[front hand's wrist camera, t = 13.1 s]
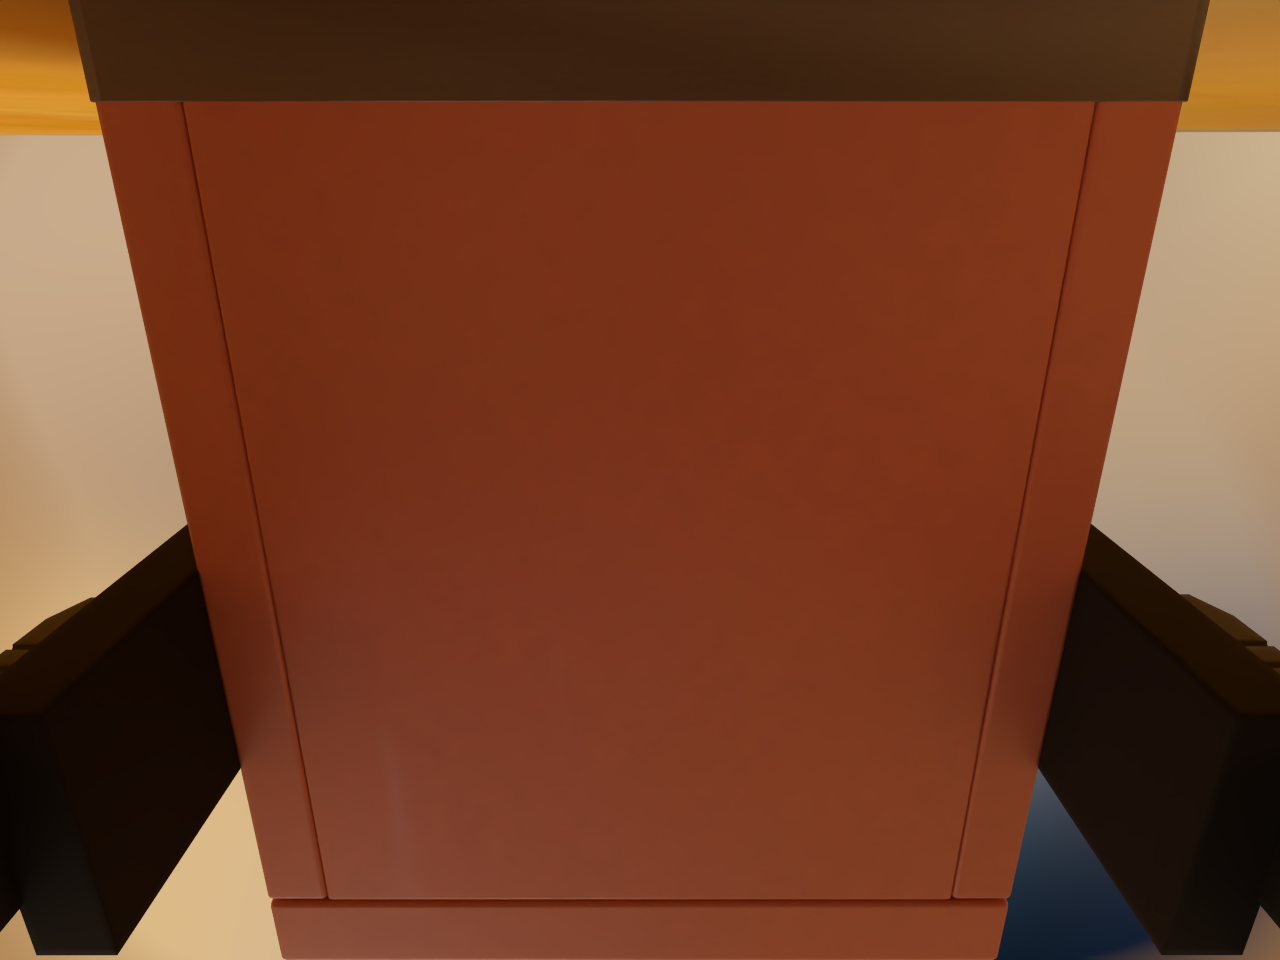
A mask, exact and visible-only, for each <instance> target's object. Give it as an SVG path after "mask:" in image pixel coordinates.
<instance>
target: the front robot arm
mask: <svg viewBox="0 0 1280 960" xmlns="http://www.w3.org/2000/svg"><path fill="white" fill-rule="evenodd" d="M240 768H241V766H240V761H239V757H238V752H237V747H236V743H235V738H234V734H233V729H232V724H231V720H230V715H229V711H228V706H227V701H226V697H225V692H224V688H223V683H222V678H221V674H220V669H219V665H218V660H217V656H216V651H215V646H214V642H213V637H212V633H211V628H210V623H209V619H208V614H207V610H206V605H205V600H204V596H203V591H202V587H201V582H200V577H199V573H198V569H197V565H196V560H195V556H194V551H193V546H192V542H191V537H190V533H189V528H188V524H187V525H186V526H185V527H183V528H182V529H181V530H180V531H178V532H177V533H176V534H175V535H173V536H172V537H171V538H170V539H168V540H167V541H166V542H165V543H163V544H162V545H161V546H160V547H158V548H157V549H156V550H155V551H153V552H152V553H151V554H150V555H148V556H147V557H146V558H145V559H143V560H142V561H141V562H139V563H138V564H137V565H136V566H134V567H133V568H132V569H131V570H129V571H128V572H127V573H126V574H124V575H123V576H122V577H121V578H119V579H118V580H117V581H116V582H114V583H113V584H112V585H111V586H109V587H108V588H107V589H106V590H104V591H103V592H102V593H101V594H99V595H98V596H97V597H96V598H89V599H87V600H85V601H83V602H81V603H78V604H76V605H74V606H72V607H70V608H68V609H66V610H64V611H62V612H60V613H58V614H56V615H54V616H51V617H49V618H47V619H46V620H44V621H43V622H42V623H40V624H39V625H38V626H36V627H35V628H34V629H32V630H31V631H30V632H29V633H27V634H26V635H25V636H23V637H22V638H21V639H19V640H18V641H17V642H15V643H14V644H13V648H12V650H5V651H4V652H2V653H1V654H0V932H1V930H2V929H3V928H4V927H5V926H6V924H7V923H8V922H9V921H10V920H11V918H12V917H13V916H14V915H15V914H16V912H17V911H18V910H19V909H20V911H21V913H22V916H23V919H24V922H25V925H26V927H27V930H28V933H29V935H30V938H31V941H32V944H33V946H34V949H35V952H36V955H118V953H119V952H120V950H121V949H122V947H123V946H124V944H125V943H126V941H127V940H128V938H129V937H130V935H131V934H132V932H133V931H134V929H135V927H136V926H137V924H138V923H139V921H140V920H141V918H142V917H143V915H144V914H145V912H146V911H147V909H148V908H149V906H150V905H151V903H152V902H153V900H154V899H155V897H156V896H157V894H158V893H159V891H160V890H161V888H162V887H163V885H164V883H165V882H166V880H167V879H168V877H169V876H170V874H171V873H172V871H173V870H174V868H175V867H176V865H177V864H178V862H179V861H180V859H181V858H182V856H183V855H184V853H185V852H186V850H187V849H188V847H189V846H190V844H191V843H192V841H193V840H194V838H195V837H196V835H197V834H198V832H199V830H200V829H201V827H202V826H203V824H204V823H205V821H206V820H207V818H208V817H209V815H210V814H211V812H212V811H213V809H214V808H215V806H216V805H217V803H218V802H219V800H220V799H221V797H222V795H223V794H224V793H225V791H226V790H227V788H228V787H229V785H230V783H231V782H232V780H233V779H234V777H235V776H236V774H237V773H238V771H239V770H240ZM1038 768H1039V770H1040V771H1041V773H1042V774H1043V776H1044V777H1045V779H1046V780H1047V782H1048V783H1049V785H1050V786H1051V788H1052V789H1053V791H1054V792H1055V794H1056V796H1057V797H1058V799H1059V800H1060V802H1061V803H1062V805H1063V806H1064V808H1065V809H1066V811H1067V812H1068V814H1069V815H1070V817H1071V818H1072V820H1073V821H1074V823H1075V824H1076V826H1077V827H1078V829H1079V830H1080V832H1081V833H1082V835H1083V836H1084V838H1085V839H1086V841H1087V843H1088V844H1089V846H1090V847H1091V849H1092V850H1093V852H1094V853H1095V855H1096V856H1097V858H1098V859H1099V861H1100V862H1101V864H1102V865H1103V867H1104V868H1105V870H1106V871H1107V873H1108V874H1109V876H1110V877H1111V879H1112V880H1113V882H1114V883H1115V885H1116V887H1117V888H1118V890H1119V891H1120V893H1121V894H1122V896H1123V897H1124V899H1125V900H1126V902H1127V903H1128V905H1129V906H1130V908H1131V909H1132V911H1133V912H1134V914H1135V915H1136V917H1137V918H1138V920H1139V921H1140V923H1141V924H1142V926H1143V927H1144V929H1145V930H1146V932H1147V934H1148V935H1149V937H1150V938H1151V940H1152V941H1153V943H1154V944H1155V946H1156V947H1157V949H1158V950H1159V952H1160V953H1161V955H1242V954H1243V951H1244V949H1245V946H1246V943H1247V940H1248V938H1249V935H1250V932H1251V929H1252V927H1253V924H1254V921H1255V918H1256V916H1257V913H1258V910H1259V907H1260V905H1261V906H1262V908H1263V909H1264V910H1265V911H1266V912H1267V914H1268V915H1269V916H1270V917H1271V918H1272V920H1273V921H1274V922H1275V923H1276V924H1277V926H1278V927H1279V928H1280V651H1279V650H1278V649H1277V648H1275V647H1274V646H1267V641H1266V640H1265V639H1263V638H1262V637H1261V636H1259V635H1258V634H1257V633H1255V632H1254V631H1253V630H1252V629H1250V628H1249V627H1248V626H1246V625H1245V624H1244V623H1242V622H1241V621H1240V620H1238V619H1237V618H1236V617H1234V616H1233V615H1231V614H1229V613H1227V612H1224V611H1222V610H1220V609H1218V608H1216V607H1214V606H1212V605H1210V604H1208V603H1206V602H1203V601H1201V600H1199V599H1197V598H1195V597H1193V596H1191V595H1188V594H1186V595H1184V594H1178V593H1177V592H1176V591H1175V590H1173V589H1172V588H1171V587H1170V586H1168V585H1167V584H1166V583H1165V582H1163V581H1162V580H1161V579H1160V578H1158V577H1157V576H1156V575H1155V574H1153V573H1152V572H1151V571H1150V570H1148V569H1147V568H1146V567H1144V566H1143V565H1142V564H1141V563H1140V562H1138V561H1137V560H1136V559H1135V558H1133V557H1132V556H1131V555H1129V554H1128V553H1127V552H1126V551H1124V550H1123V549H1122V548H1121V547H1119V546H1118V545H1117V544H1116V543H1114V542H1113V541H1112V540H1111V539H1109V538H1108V537H1107V536H1106V535H1104V534H1103V533H1102V532H1101V531H1099V530H1098V529H1097V528H1096V527H1094V526H1093V525H1092V524H1091V525H1090V530H1089V534H1088V539H1087V544H1086V548H1085V553H1084V558H1083V562H1082V567H1081V571H1080V576H1079V581H1078V585H1077V590H1076V594H1075V599H1074V604H1073V608H1072V613H1071V618H1070V622H1069V627H1068V631H1067V636H1066V641H1065V645H1064V650H1063V654H1062V659H1061V664H1060V668H1059V673H1058V677H1057V682H1056V687H1055V691H1054V696H1053V701H1052V705H1051V710H1050V714H1049V719H1048V724H1047V728H1046V733H1045V737H1044V742H1043V747H1042V751H1041V756H1040V760H1039V765H1038Z"/></svg>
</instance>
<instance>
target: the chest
mask: <svg viewBox="0 0 1280 960" xmlns="http://www.w3.org/2000/svg"><path fill="white" fill-rule="evenodd" d="M68 1H69V6H70V11H71V15H72V20H73V24H74V29H75V33H76V38H77V42H78V47H79V51H80V56H81V61H82V65H83V70H84V74H85V79H86V83H87V88H88V92H89V97H90V101H91V102H96V106H97V111H98V115H99V120H100V124H101V129H102V134H103V138H104V143H105V147H106V152H107V157H108V161H109V166H110V170H111V175H112V179H113V184H114V188H115V193H116V198H117V202H118V207H119V212H120V216H121V221H122V225H123V230H124V235H125V239H126V244H127V248H128V253H129V257H130V262H131V266H132V271H133V276H134V280H135V285H136V290H137V294H138V299H139V303H140V308H141V312H142V317H143V322H144V326H145V331H146V335H147V340H148V344H149V349H150V354H151V358H152V363H153V368H154V372H155V377H156V381H157V386H158V390H159V395H160V400H161V404H162V409H163V413H164V418H165V423H166V427H167V432H168V436H169V441H170V446H171V450H172V455H173V459H174V464H175V468H176V473H177V478H178V482H179V487H180V491H181V496H182V501H183V505H184V510H185V514H186V519H187V523H188V528H189V533H190V537H191V542H192V546H193V551H194V556H195V560H196V565H197V569H198V573H199V577H200V582H201V587H202V591H203V596H204V600H205V605H206V610H207V614H208V619H209V623H210V628H211V633H212V637H213V642H214V646H215V651H216V656H217V660H218V665H219V669H220V674H221V678H222V683H223V688H224V692H225V697H226V701H227V706H228V711H229V715H230V720H231V724H232V729H233V734H234V738H235V743H236V747H237V752H238V757H239V761H240V766H241V771H242V776H243V780H244V785H245V790H246V794H247V799H248V803H249V808H250V812H251V817H252V822H253V826H254V831H255V835H256V840H257V844H258V849H259V854H260V858H261V862H262V868H263V872H264V877H265V881H266V886H267V890H268V895H269V897H271V898H273V899H322V898H325V897H326V896H327V895H328V897H329V898H330V899H949V898H950V897H951V894H952V896H953V897H955V898H1007V897H1009V896H1010V894H1011V890H1012V885H1013V880H1014V876H1015V871H1016V867H1017V862H1018V857H1019V853H1020V848H1021V844H1022V839H1023V834H1024V830H1025V825H1026V820H1027V816H1028V811H1029V807H1030V802H1031V797H1032V793H1033V788H1034V784H1035V779H1036V774H1037V770H1038V765H1039V760H1040V756H1041V751H1042V747H1043V742H1044V737H1045V733H1046V728H1047V724H1048V719H1049V714H1050V710H1051V705H1052V701H1053V696H1054V691H1055V687H1056V682H1057V677H1058V673H1059V668H1060V664H1061V659H1062V654H1063V650H1064V645H1065V641H1066V636H1067V631H1068V627H1069V622H1070V618H1071V613H1072V608H1073V604H1074V599H1075V594H1076V590H1077V585H1078V581H1079V576H1080V571H1081V567H1082V562H1083V558H1084V553H1085V548H1086V544H1087V539H1088V534H1089V530H1090V525H1091V521H1092V516H1093V511H1094V507H1095V502H1096V497H1097V493H1098V488H1099V484H1100V479H1101V475H1102V470H1103V465H1104V461H1105V456H1106V451H1107V447H1108V442H1109V437H1110V433H1111V428H1112V424H1113V419H1114V414H1115V410H1116V405H1117V401H1118V396H1119V391H1120V387H1121V382H1122V378H1123V373H1124V368H1125V364H1126V359H1127V355H1128V350H1129V345H1130V341H1131V336H1132V331H1133V327H1134V322H1135V317H1136V313H1137V308H1138V304H1139V299H1140V295H1141V290H1142V285H1143V281H1144V276H1145V271H1146V267H1147V262H1148V258H1149V253H1150V248H1151V244H1152V239H1153V235H1154V230H1155V225H1156V221H1157V216H1158V212H1159V207H1160V202H1161V198H1162V193H1163V189H1164V184H1165V179H1166V175H1167V170H1168V165H1169V161H1170V156H1171V152H1172V147H1173V142H1174V138H1175V133H1176V129H1177V124H1178V119H1179V115H1180V110H1181V106H1182V102H1186V101H1188V97H1189V93H1190V88H1191V84H1192V79H1193V75H1194V70H1195V65H1196V61H1197V56H1198V52H1199V47H1200V43H1201V38H1202V33H1203V29H1204V24H1205V20H1206V15H1207V11H1208V6H1209V1H1210V0H68Z"/></svg>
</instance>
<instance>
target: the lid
mask: <svg viewBox="0 0 1280 960" xmlns="http://www.w3.org/2000/svg"><path fill="white" fill-rule="evenodd" d="M271 908H272V913H273V917H274V922H275V927H276V931H277V936H278V940H279V945H280V949H281V954H282V957H283V958H284V959H286V960H993V959H995V958H996V957H997V954H998V950H999V945H1000V940H1001V936H1002V931H1003V927H1004V922H1005V918H1006V913H1007V908H1008V902H1007V900H1006V898H955V897H953V896H952V894H951V897H950V898H949V899H330V898H329V897H328V895H327V896H326V897H325V898H322V899H273V900H272V903H271Z"/></svg>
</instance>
